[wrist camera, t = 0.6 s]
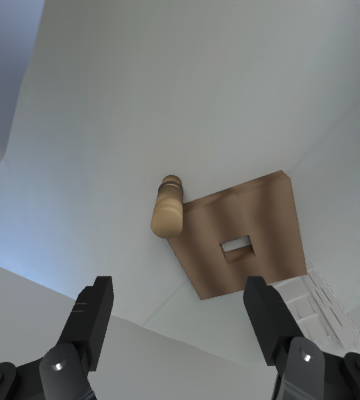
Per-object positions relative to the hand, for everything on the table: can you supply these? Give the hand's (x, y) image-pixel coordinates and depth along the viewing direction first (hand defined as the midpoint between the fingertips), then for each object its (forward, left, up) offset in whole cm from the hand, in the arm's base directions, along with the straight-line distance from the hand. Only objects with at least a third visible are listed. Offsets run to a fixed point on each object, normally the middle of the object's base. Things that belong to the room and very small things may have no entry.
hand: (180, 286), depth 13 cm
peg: (+3, +3, -22) cm, 22 cm away
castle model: (-11, +37, -22) cm, 44 cm away
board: (-3, +17, -22) cm, 27 cm away
